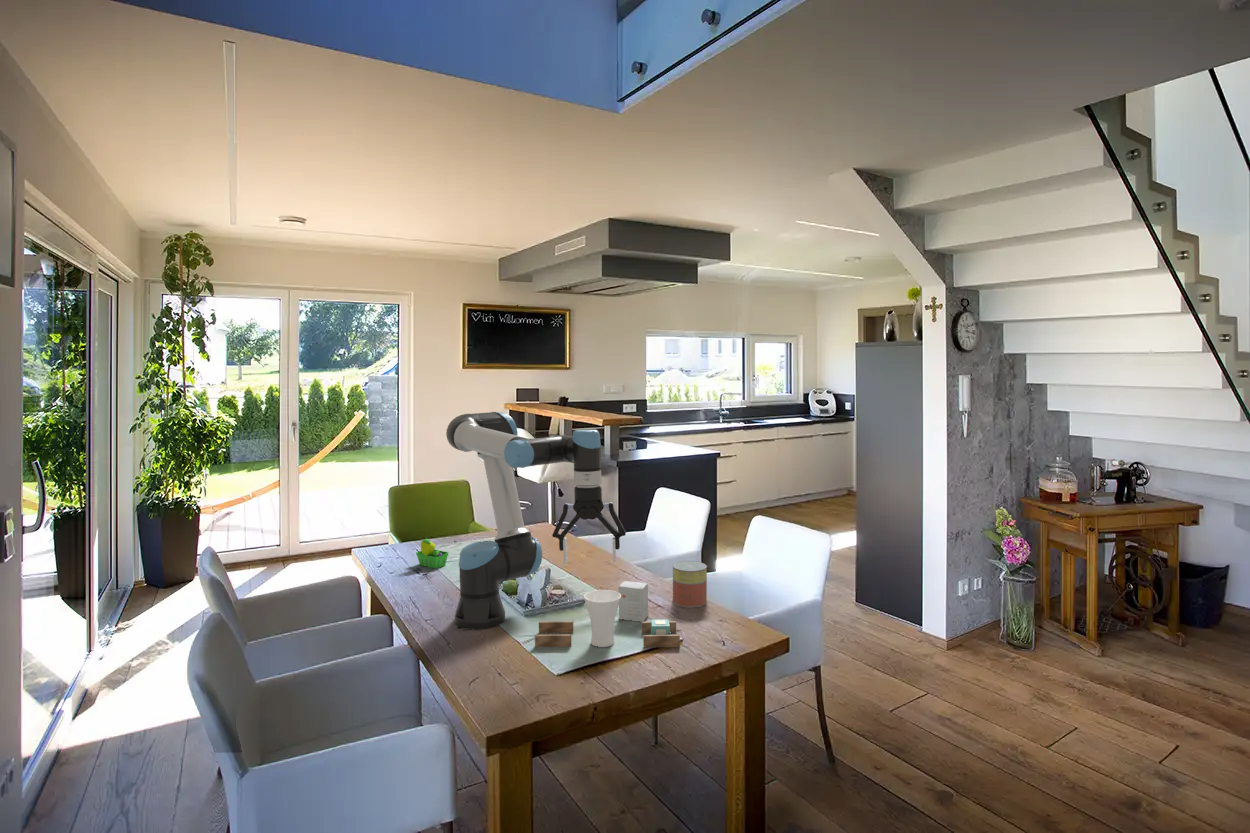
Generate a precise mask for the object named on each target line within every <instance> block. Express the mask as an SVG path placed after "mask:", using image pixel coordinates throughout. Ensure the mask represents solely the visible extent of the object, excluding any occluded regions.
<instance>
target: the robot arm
mask: <svg viewBox="0 0 1250 833" xmlns="http://www.w3.org/2000/svg"><path fill="white" fill-rule="evenodd" d="M518 433H519V432H518V428H517V425H516V422H515V420H514V419H513V417H511V416H510V415H509V414H508V413H507V412H503V411H501V412H497V411H492V412H491V411H490V412H479V413H478V412H477V413H464V414H460V415H457V416H456V417H454V418H453V419H452V420H451V421H450V422H449V424H448V425H447V428H446V434H445V435H446V440H447V442H448V443H449V445H450V446H451V447H452V448H454V449H455V450H458V451H462V452H465V453H467V452H468V453H470V452H476V453H477V457H478V458H479V459H481V460H482V461H483V463H484V469H485V475H486V479H487V483H488V489H489V494H490V500H491V505H492V510H493V514H494V515H493V516H494V520H495V524H496V530H497V534H496V536H495V537H494V540H484V541H481V540H480V541H477V542H473V543H472V542H471V543H470V544H467V545H466V546H464V547H463V548H462V549H461V550H460V553H459V559H458V560H459V561H458V568H459V599H458V603H457V606H456V610H455V613H454V624H455V626H456V627H459V628H461V629H466V630H486V629H490V628H494V627H497V626H499V625H501V624H502V623H504V622H505V620H506V610H505V606H504V604H503V600H502V599H501V596H500V583H503V582H507V581H511V580H516V579H519V578H524V577H527V576H529V575H533V574H534V573H536V572H538V570H539V569H540V567H541V564H542V560H543V549H542V545H541V543H540V542H539V540H538V538H536V537H534V536H532V534H531V532H532V531H530V530H529V529H528V528H526V526H525V523H524V519H523V513H522V509H521V503H520V498H519V495H518V494H519V493H518V489H517V484H516V480H515V479H516V478H515V474H514V470H513V468H518V469H519V468H520V469H522V468H523V469H524V468H525V469H526V468H528V467H535V466H542V465H550V464H552V465H553V464H559V463H572V464H573V483H574V484H573V485H574V486H575V487H574V488H573V489H574V490H573V491H574V503H568V502H564V504H563V506H562V507H563V508H562V513H561V514H560V515H561V516H560V517H559V520H558V522H557V524H556V525H555V528H554V530H553V533H552V534H551V536H552V537H553V538H557V539H558V546H559V547H558V548H559V551H560V552H562V553H563V564H568V563H567V562H568V538H567V537H566V536H567V534H568V533H569V532H570V530H571V529H572V528H573V527H574V526H575V525H576V523H577V522H578V521H579V520H580V519H581V520H595V519H598V520H599V521H600V522H601V523H602V524H603V525H604V527H605V528H606V529H607V530H608V531H609V532H610V534H611V535H613V536H612V540H611V542H612V543H611V544H612V563H616V561H617V556H616V555H617V552H616V550H620V545H621V544H620V538H621V537H625V536H626V535H627V534H626V533H627V531H626V529H625V527H624V525H623V524H622V522H621V519H620V518H619V516H618V514H617V512H616V510H615V508H614V507H615V506H614V503H613V501H609V502H605V503H603V499H602V498H603V495H602V494H603V493H602V491H603V489H602V486H601V484H602V462H601V460H602V459H601V457H602V456H601V454H602V452H601V450H602V449H601V446H602V444H601V435H600V432H599V430H598V429H576V430H573V432H572V435H564V434H554V435H550V436H547V437H536V438H528V437H523V436H519V435H518ZM604 509H606V511H607V512H609V514H610V516H611V517H612V519H613V520H612V521H613V522H614V524H615V525H616V527H617V529H618V530H617V529H616V527H614V525H613V524H612V523H611V522H609V520H608V519H607V517H606V516H605V515H604V514H603V512H602V511H603V510H604ZM571 510H574V512H575V513H576V514H575V515H574V517H573V518H572V519H571V520H570V521H569V523H568V524H567V525H566V526H565V528H564V529H563V530H562V532H560V530H561V527H562V525H563V524H564V521H565V519H566V517H567V515H568V513H570V512H571Z"/></svg>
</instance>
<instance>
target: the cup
mask: <svg viewBox="0 0 1250 833" xmlns="http://www.w3.org/2000/svg"><path fill="white" fill-rule="evenodd" d="M620 598H621V594H620V593H619V591H615V590H611V589H596V590H590V591H588V592H586V593H585V594H584V595H583V600H584V603H585V605H586V609H587V612H588V615H589V619H590V626H591V627H590V628H591V640H590V643H591V645H592V646H594V647H597V646H598V648H605V647H606V648H607V647H611V646H614V644H615V637H614V630H615V620H616V615H617V612H618V609H619V602H620Z"/></svg>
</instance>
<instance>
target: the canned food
mask: <svg viewBox="0 0 1250 833" xmlns="http://www.w3.org/2000/svg"><path fill="white" fill-rule="evenodd" d="M707 568H708V565H706V564H705V563H703V562H701V561H695V560H681V561H677V562H675V563H672V603H673V604H674V605H676V606H679V607H683V608H699V607H703V606H705V605H706V604H708V603H707V602H708V600H707V592H708V591H707V589H708V588H707V586H708V584H707V582H708V581H707V580H708V579H707V578H708V577H707V575H708V572H707V571H708V570H707Z"/></svg>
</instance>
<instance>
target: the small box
mask: <svg viewBox="0 0 1250 833" xmlns="http://www.w3.org/2000/svg"><path fill="white" fill-rule="evenodd" d="M617 588H618V593H620V594H621V598H620V602H619V605H618V619H619V620H622V619H624V621H630V620H632V621H633V622H639V621H640V623H642V622H645V621H646V619H647V618H648V616H649V584H648V582H637V581H628V580H624V581H623V582H621V583H620V585H618V587H617Z"/></svg>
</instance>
